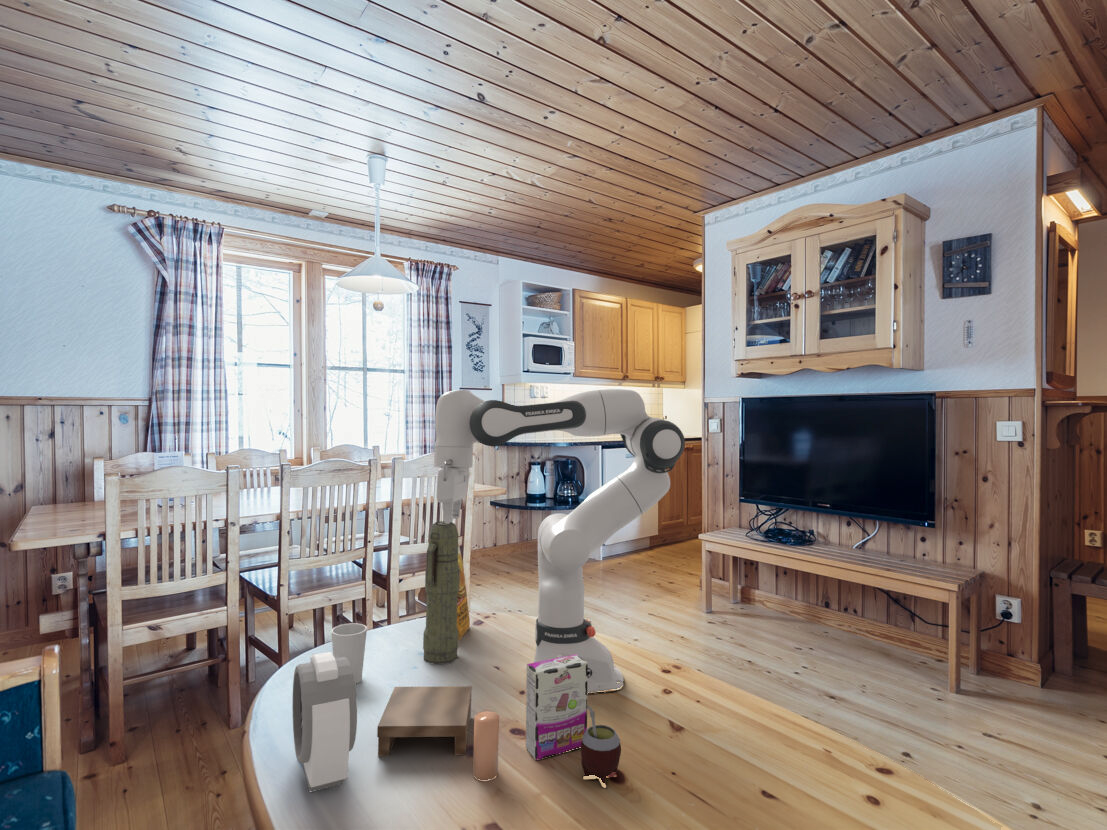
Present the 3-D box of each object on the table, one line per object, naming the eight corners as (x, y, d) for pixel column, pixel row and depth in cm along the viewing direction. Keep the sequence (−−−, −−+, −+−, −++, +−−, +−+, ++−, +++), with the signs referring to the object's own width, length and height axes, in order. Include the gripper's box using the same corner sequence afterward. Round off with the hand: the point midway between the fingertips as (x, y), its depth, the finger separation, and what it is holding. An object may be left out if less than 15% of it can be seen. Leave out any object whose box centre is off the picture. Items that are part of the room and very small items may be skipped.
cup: (359, 688, 138) (360, 635, 138) (324, 687, 138) (325, 634, 138) (370, 673, 146) (371, 623, 146) (337, 672, 146) (339, 622, 146)
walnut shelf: (470, 714, 127) (471, 686, 127) (464, 758, 111) (465, 725, 111) (394, 715, 126) (394, 686, 126) (376, 759, 110) (377, 726, 110)
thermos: (413, 663, 152) (416, 525, 152) (436, 647, 163) (439, 518, 163) (444, 669, 149) (448, 528, 149) (465, 651, 160) (469, 520, 160)
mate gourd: (613, 764, 110) (616, 682, 110) (626, 791, 102) (628, 703, 102) (574, 767, 109) (576, 684, 109) (583, 794, 101) (585, 705, 101)
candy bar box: (574, 735, 120) (576, 652, 120) (587, 747, 115) (589, 662, 115) (523, 748, 114) (525, 662, 115) (534, 762, 110) (537, 672, 110)
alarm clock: (290, 752, 111) (293, 643, 111) (338, 740, 115) (340, 635, 115) (302, 808, 96) (305, 681, 96) (357, 793, 100) (360, 671, 100)
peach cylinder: (498, 766, 108) (499, 711, 108) (497, 781, 104) (499, 723, 104) (473, 766, 108) (475, 711, 108) (472, 781, 104) (473, 723, 104)
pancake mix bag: (432, 645, 164) (434, 542, 164) (453, 621, 183) (455, 530, 183) (456, 647, 163) (458, 544, 163) (474, 623, 182) (476, 531, 182)
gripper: (459, 459, 129) (458, 525, 127) (473, 460, 149) (472, 516, 148) (430, 459, 129) (428, 524, 128) (447, 460, 149) (446, 516, 148)
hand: (452, 520), depth 138 cm, fingers open, 8 cm apart
